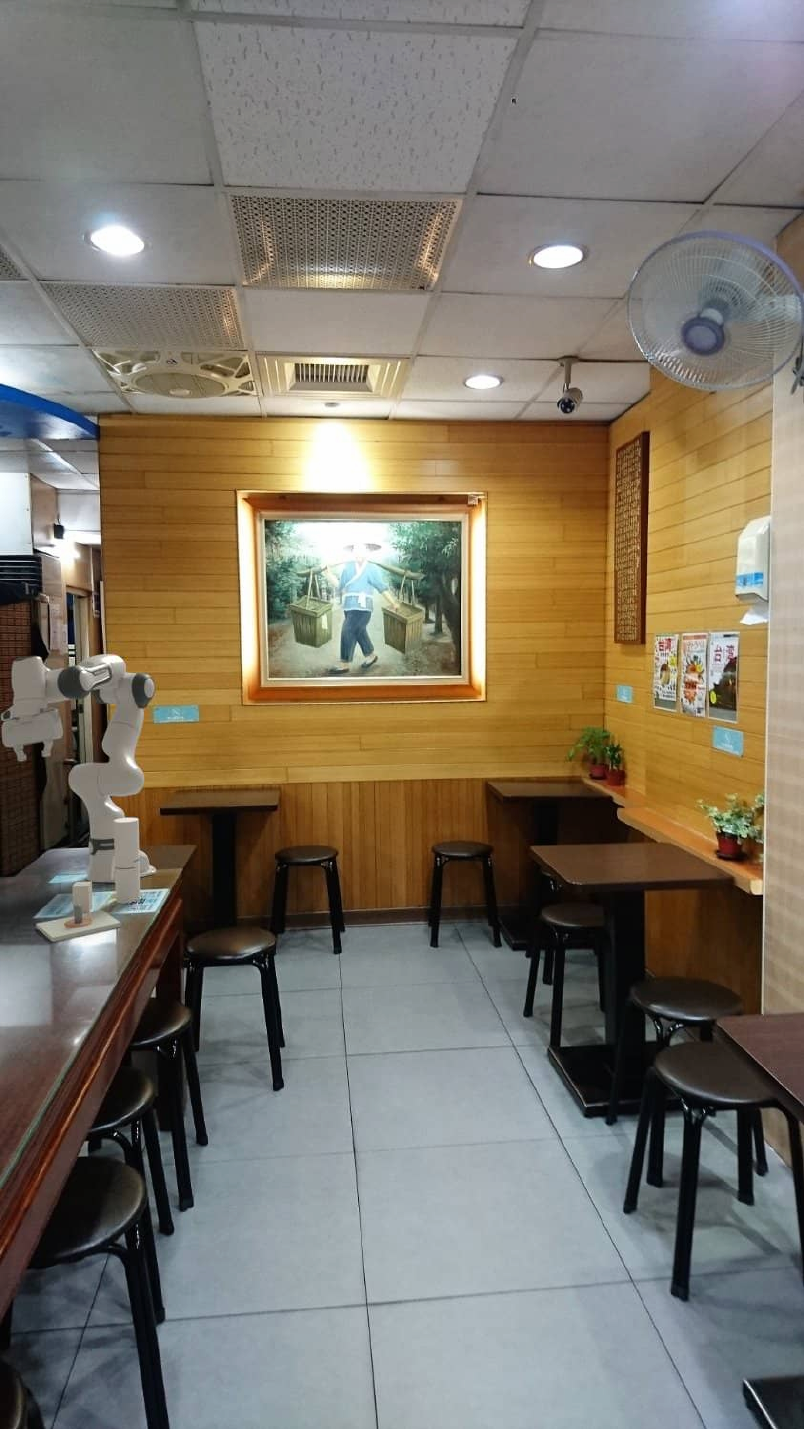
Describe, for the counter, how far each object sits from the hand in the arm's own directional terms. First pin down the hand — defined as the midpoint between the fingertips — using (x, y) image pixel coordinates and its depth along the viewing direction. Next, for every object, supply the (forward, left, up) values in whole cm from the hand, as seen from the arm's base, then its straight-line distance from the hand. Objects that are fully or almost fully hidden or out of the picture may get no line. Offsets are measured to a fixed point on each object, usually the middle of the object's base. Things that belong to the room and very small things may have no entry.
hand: (34, 758), depth 223 cm
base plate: (-5, +19, -46) cm, 50 cm away
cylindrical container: (-25, +4, -46) cm, 52 cm away
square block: (-11, +5, -46) cm, 47 cm away
